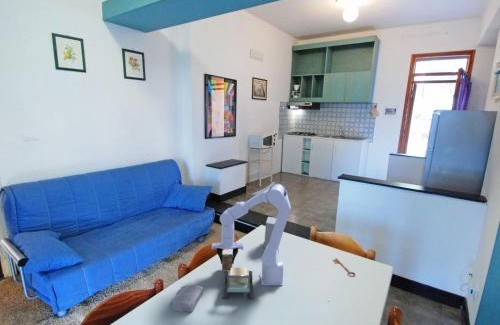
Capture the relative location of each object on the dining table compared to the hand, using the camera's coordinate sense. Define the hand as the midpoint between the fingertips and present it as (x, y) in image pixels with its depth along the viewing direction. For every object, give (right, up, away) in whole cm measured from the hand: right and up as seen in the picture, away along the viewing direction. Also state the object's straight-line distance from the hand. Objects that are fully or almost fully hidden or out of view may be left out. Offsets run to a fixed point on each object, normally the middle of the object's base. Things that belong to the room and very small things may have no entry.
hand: (227, 262), depth 120 cm
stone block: (-15, -9, -17) cm, 24 cm away
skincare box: (+22, -1, +26) cm, 34 cm away
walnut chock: (0, -2, +1) cm, 2 cm away
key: (+56, -6, +7) cm, 57 cm away
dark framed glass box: (+6, -7, -10) cm, 14 cm away
